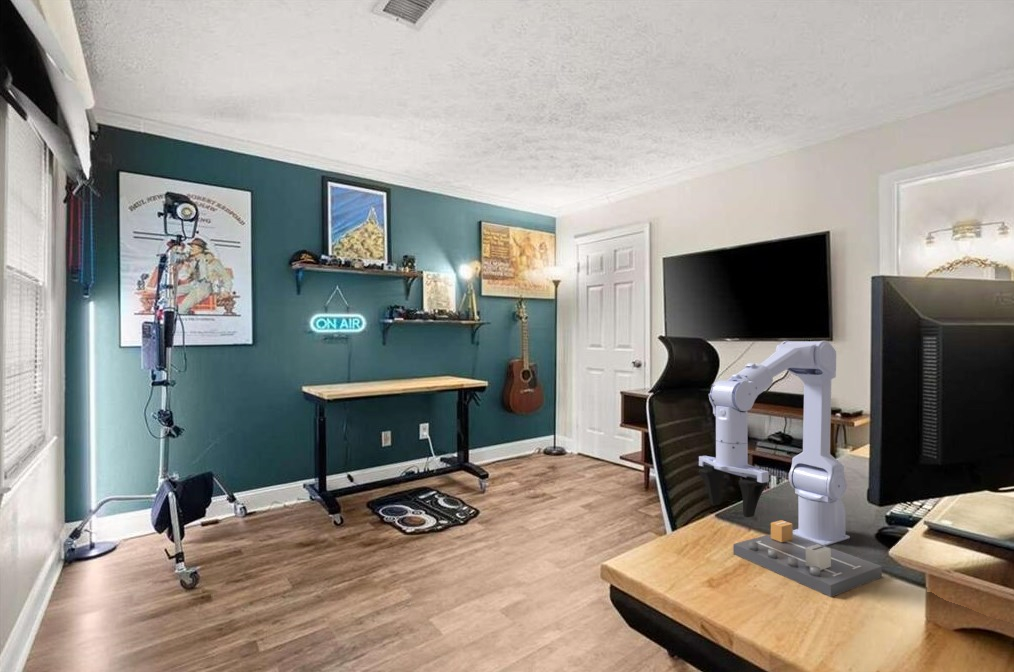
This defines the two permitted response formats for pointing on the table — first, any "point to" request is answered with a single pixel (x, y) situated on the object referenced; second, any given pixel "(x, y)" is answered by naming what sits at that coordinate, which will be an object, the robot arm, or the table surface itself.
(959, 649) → the table surface
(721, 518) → the table surface
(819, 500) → the robot arm
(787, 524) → the fader
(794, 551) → the mixer board
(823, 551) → the fader
